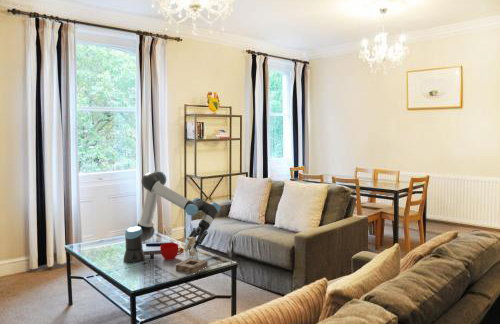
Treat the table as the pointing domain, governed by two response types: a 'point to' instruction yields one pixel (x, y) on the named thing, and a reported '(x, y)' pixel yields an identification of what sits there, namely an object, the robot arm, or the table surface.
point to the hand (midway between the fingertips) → (188, 251)
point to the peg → (191, 241)
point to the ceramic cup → (169, 250)
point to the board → (191, 265)
